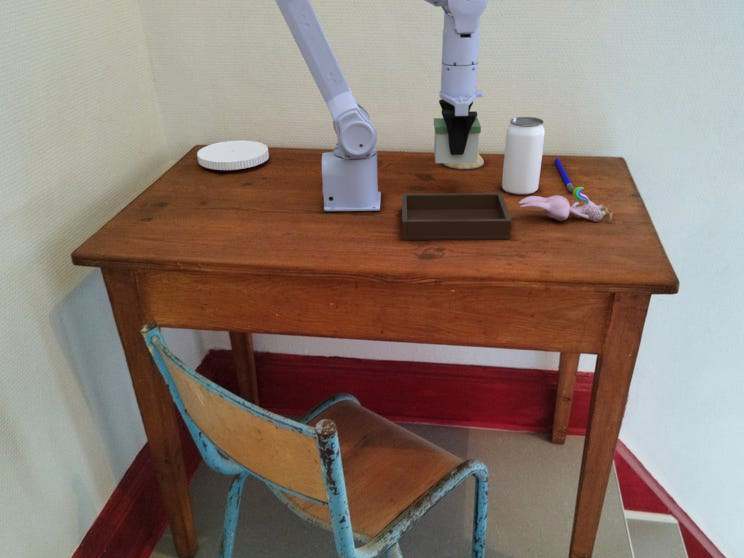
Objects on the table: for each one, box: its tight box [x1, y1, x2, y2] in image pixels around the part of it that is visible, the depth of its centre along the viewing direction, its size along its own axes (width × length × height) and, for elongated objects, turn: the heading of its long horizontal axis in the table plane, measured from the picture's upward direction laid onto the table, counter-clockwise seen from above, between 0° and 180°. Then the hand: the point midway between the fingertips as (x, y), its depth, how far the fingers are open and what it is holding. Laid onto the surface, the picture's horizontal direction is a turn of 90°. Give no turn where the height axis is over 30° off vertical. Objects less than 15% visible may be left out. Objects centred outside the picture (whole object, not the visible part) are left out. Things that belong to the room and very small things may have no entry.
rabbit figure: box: [518, 186, 614, 223], centre depth 106 cm, size 6×6×15 cm
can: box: [501, 116, 546, 196], centre depth 115 cm, size 6×6×12 cm
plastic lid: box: [196, 139, 270, 171], centre depth 133 cm, size 14×14×2 cm
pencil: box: [554, 158, 575, 193], centre depth 123 cm, size 17×1×1 cm, turn 177°
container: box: [433, 117, 482, 164], centre depth 111 cm, size 7×5×6 cm
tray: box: [401, 192, 512, 241], centre depth 106 cm, size 17×12×3 cm
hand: (455, 148), depth 112 cm, fingers closed on container, 5 cm apart
